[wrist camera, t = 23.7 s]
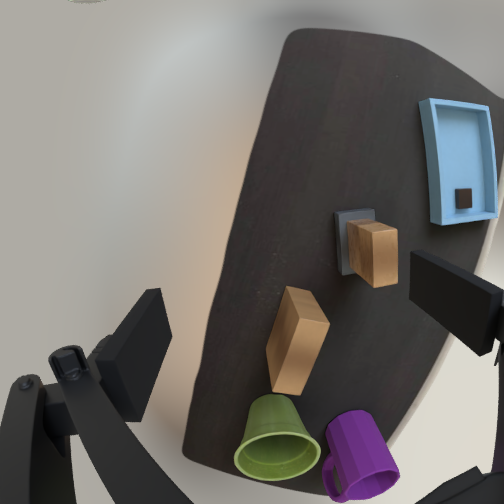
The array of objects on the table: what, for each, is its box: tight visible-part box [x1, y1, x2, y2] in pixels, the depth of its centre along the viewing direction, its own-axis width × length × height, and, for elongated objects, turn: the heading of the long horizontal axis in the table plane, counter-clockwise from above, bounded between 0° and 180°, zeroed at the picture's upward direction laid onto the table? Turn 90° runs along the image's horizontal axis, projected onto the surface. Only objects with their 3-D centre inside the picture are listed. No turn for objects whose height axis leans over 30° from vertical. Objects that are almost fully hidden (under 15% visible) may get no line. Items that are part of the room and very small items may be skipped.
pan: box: [418, 98, 498, 225], centre depth 37 cm, size 18×13×3 cm
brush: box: [334, 208, 398, 288], centre depth 35 cm, size 8×5×10 cm, turn 8°
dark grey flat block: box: [455, 188, 472, 209], centre depth 38 cm, size 3×3×1 cm
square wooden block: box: [266, 286, 330, 395], centre depth 38 cm, size 10×4×10 cm, turn 165°
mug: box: [322, 410, 400, 503], centre depth 42 cm, size 9×16×15 cm, turn 159°
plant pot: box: [234, 394, 321, 481], centre depth 41 cm, size 12×12×11 cm
